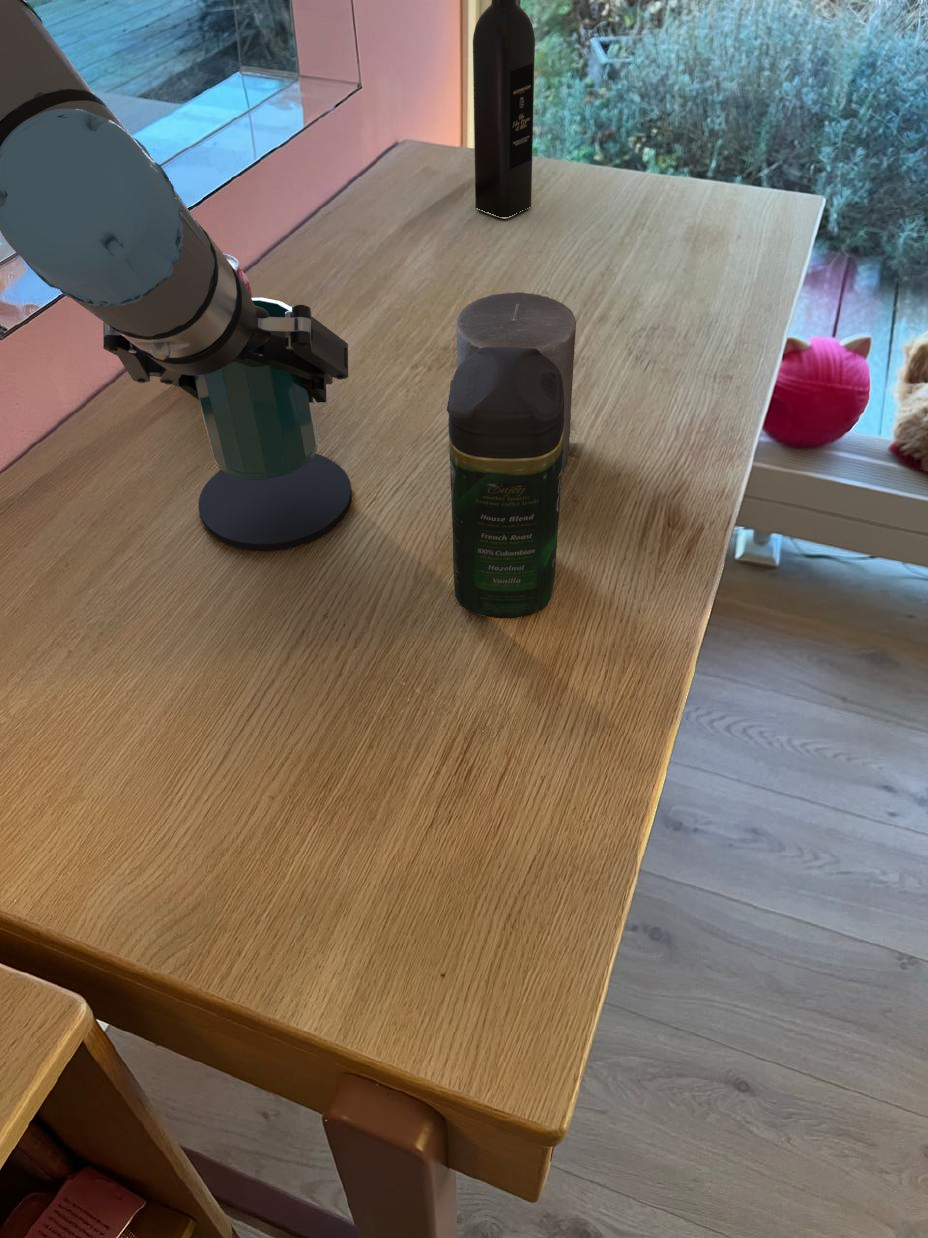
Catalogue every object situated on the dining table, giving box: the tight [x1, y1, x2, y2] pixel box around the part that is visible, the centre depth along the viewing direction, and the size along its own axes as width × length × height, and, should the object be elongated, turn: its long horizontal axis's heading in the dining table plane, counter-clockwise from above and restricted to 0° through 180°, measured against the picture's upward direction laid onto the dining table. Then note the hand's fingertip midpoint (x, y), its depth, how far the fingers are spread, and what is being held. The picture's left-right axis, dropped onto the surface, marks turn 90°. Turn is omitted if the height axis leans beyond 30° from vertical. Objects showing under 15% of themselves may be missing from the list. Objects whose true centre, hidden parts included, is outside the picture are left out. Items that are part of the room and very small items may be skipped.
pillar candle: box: [456, 292, 577, 474], centre depth 84 cm, size 10×10×15 cm
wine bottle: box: [472, 0, 536, 217], centre depth 116 cm, size 6×6×30 cm
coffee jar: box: [446, 347, 564, 620], centre depth 72 cm, size 10×8×19 cm
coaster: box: [198, 453, 353, 552], centre depth 86 cm, size 13×13×1 cm
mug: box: [192, 297, 320, 480], centre depth 79 cm, size 12×9×11 cm
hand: (264, 386), depth 82 cm, fingers closed on mug, 9 cm apart
